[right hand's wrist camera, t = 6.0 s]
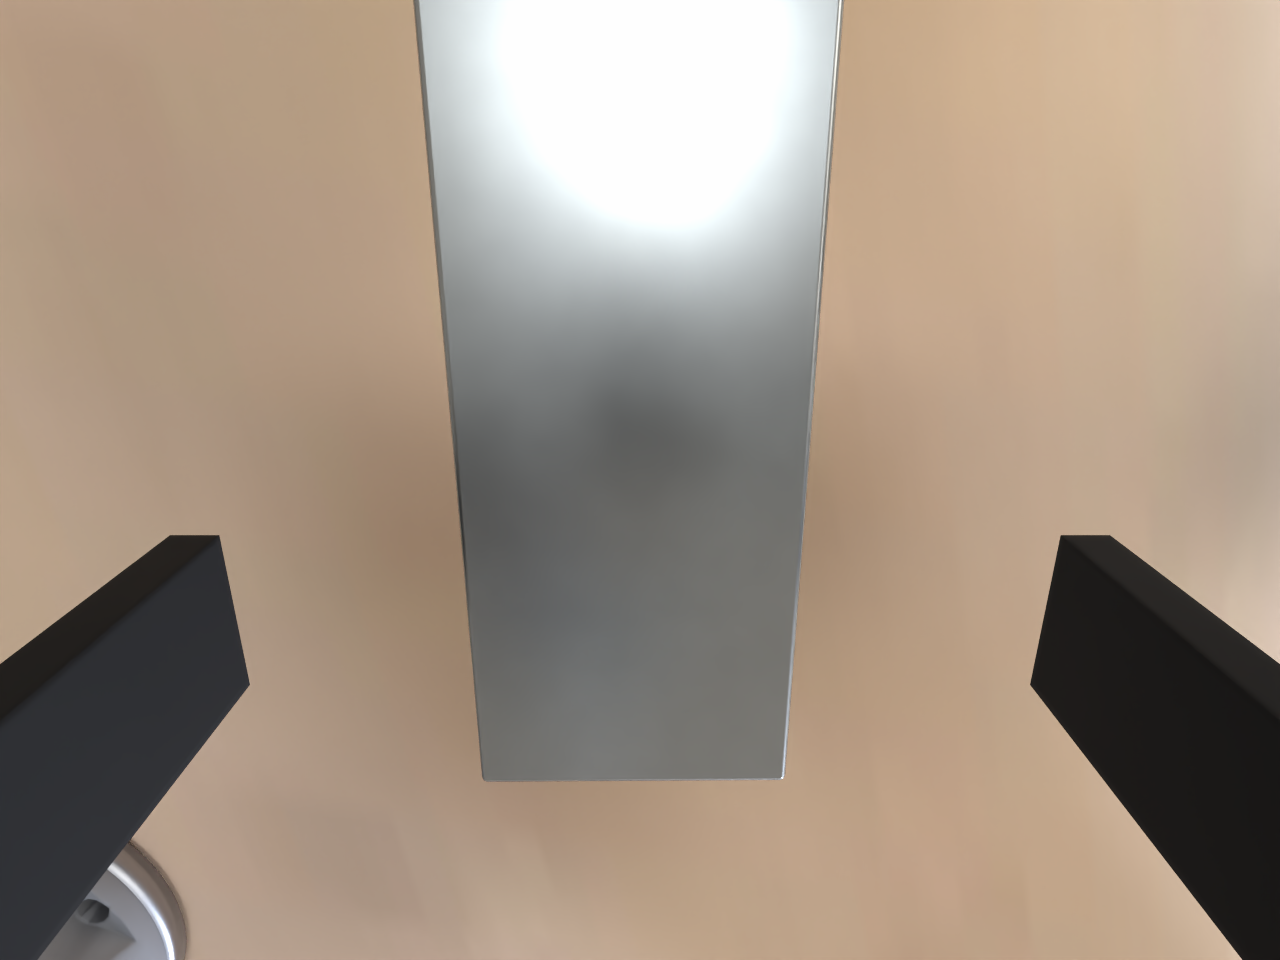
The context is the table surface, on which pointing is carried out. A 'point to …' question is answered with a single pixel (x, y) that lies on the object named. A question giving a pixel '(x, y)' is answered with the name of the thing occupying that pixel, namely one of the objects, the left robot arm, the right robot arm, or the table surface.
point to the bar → (630, 367)
